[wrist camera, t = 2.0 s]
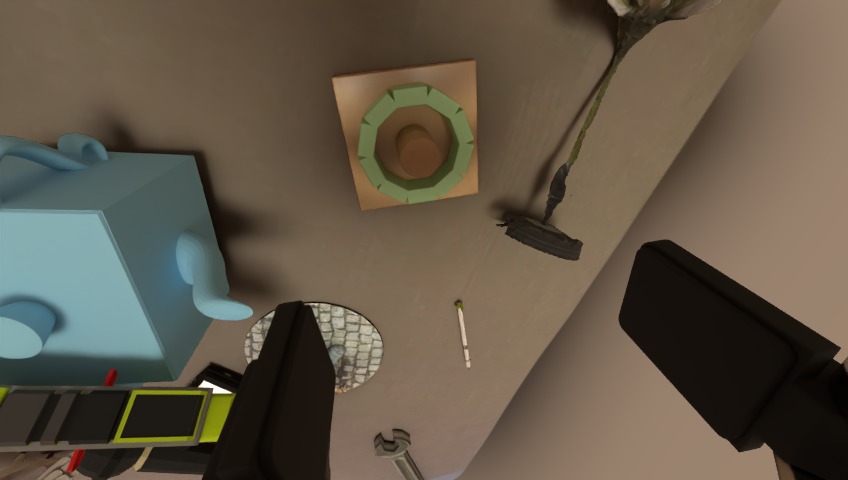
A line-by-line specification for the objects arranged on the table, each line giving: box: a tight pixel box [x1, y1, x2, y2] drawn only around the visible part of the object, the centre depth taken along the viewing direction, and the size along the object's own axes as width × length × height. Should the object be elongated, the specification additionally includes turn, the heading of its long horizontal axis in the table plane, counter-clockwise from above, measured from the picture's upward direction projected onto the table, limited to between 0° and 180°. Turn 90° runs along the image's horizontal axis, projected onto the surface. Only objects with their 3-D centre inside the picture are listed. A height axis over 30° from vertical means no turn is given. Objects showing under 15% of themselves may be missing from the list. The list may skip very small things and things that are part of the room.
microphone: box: [76, 442, 216, 480], centre depth 35 cm, size 6×6×20 cm
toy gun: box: [0, 369, 236, 472], centre depth 19 cm, size 20×4×15 cm
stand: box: [331, 59, 478, 211], centre depth 21 cm, size 9×9×5 cm
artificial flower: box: [496, 0, 722, 261], centre depth 20 cm, size 9×22×10 cm, turn 161°
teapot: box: [0, 133, 253, 387], centre depth 19 cm, size 16×18×11 cm
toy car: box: [166, 366, 242, 451], centre depth 31 cm, size 10×4×3 cm, turn 133°
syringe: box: [455, 301, 471, 368], centre depth 34 cm, size 10×1×1 cm
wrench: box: [375, 430, 424, 480], centre depth 46 cm, size 5×2×20 cm
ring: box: [357, 83, 474, 204], centre depth 21 cm, size 7×7×2 cm
